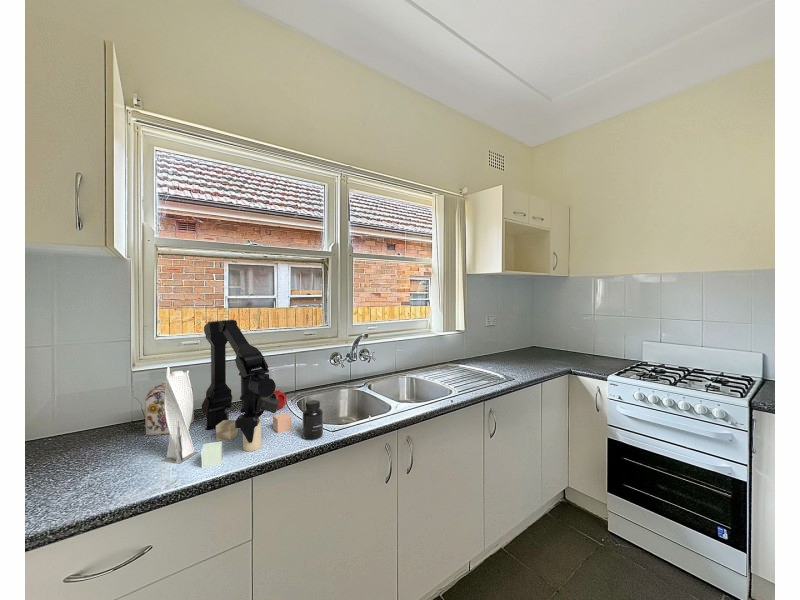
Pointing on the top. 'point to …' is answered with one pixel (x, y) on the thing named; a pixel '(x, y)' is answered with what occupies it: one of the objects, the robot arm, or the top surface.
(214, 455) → the sage block
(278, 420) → the terracotta block
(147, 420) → the decorative jar
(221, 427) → the birch block
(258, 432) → the candle
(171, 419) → the skyscraper
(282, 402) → the pomegranate
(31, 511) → the top surface
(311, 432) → the supplement bottle
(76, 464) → the top surface
